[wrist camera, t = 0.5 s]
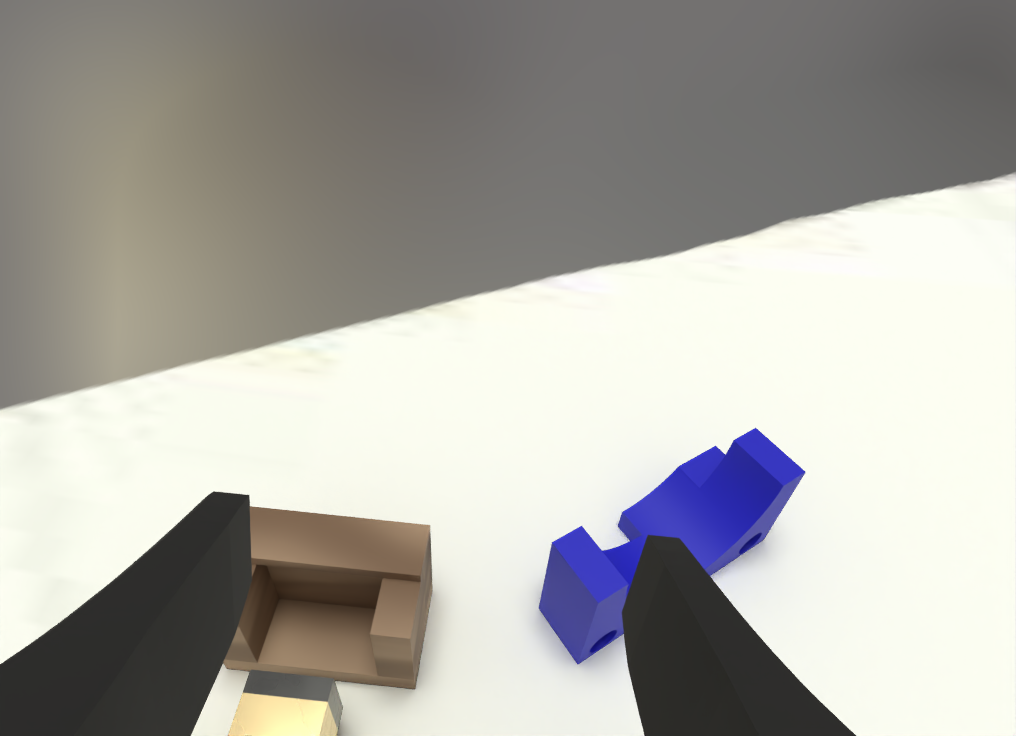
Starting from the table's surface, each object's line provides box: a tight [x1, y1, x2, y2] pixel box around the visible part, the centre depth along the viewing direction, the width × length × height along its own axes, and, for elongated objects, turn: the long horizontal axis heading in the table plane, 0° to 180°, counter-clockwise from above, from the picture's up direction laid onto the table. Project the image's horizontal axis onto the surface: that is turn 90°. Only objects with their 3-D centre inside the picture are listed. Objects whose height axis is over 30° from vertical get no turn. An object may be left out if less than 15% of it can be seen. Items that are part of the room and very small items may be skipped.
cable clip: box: [539, 428, 805, 664], centre depth 31 cm, size 12×4×6 cm, turn 123°
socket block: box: [223, 506, 432, 689], centre depth 28 cm, size 4×8×6 cm, turn 85°
